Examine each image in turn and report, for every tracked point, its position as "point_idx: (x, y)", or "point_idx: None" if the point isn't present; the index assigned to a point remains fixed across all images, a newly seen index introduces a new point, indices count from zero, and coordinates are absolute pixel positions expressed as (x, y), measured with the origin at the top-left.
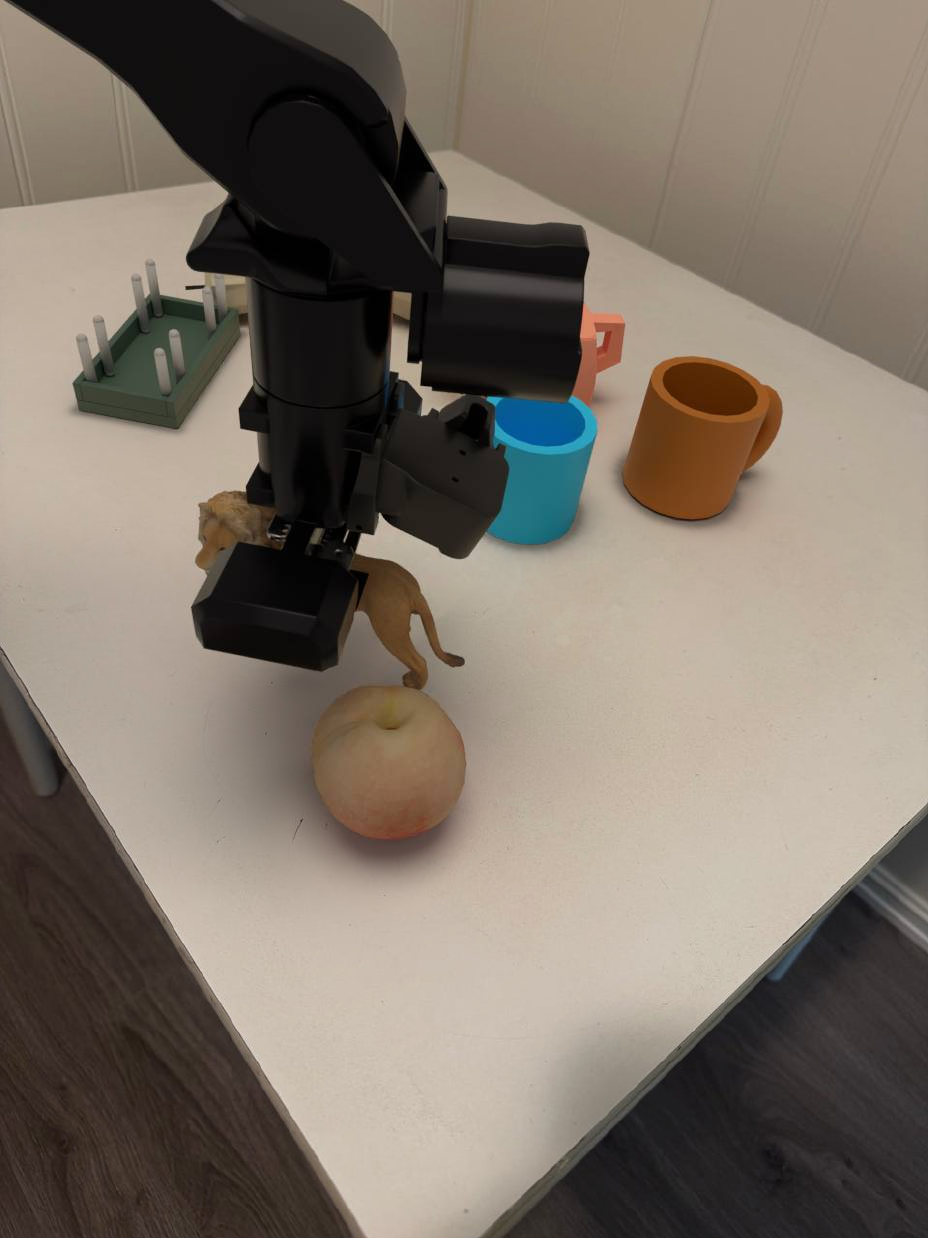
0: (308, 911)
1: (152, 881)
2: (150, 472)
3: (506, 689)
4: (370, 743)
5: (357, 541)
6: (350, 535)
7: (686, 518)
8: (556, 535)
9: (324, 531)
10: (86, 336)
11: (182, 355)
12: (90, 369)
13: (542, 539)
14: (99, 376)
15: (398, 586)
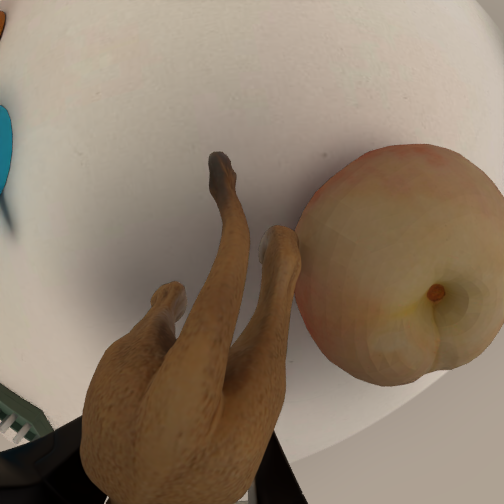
0: None
1: (420, 391)
2: None
3: (181, 102)
4: (493, 334)
5: (70, 459)
6: (69, 471)
7: (2, 27)
8: (4, 112)
9: (88, 490)
10: None
11: (7, 419)
12: None
13: (7, 123)
14: None
15: (184, 496)
